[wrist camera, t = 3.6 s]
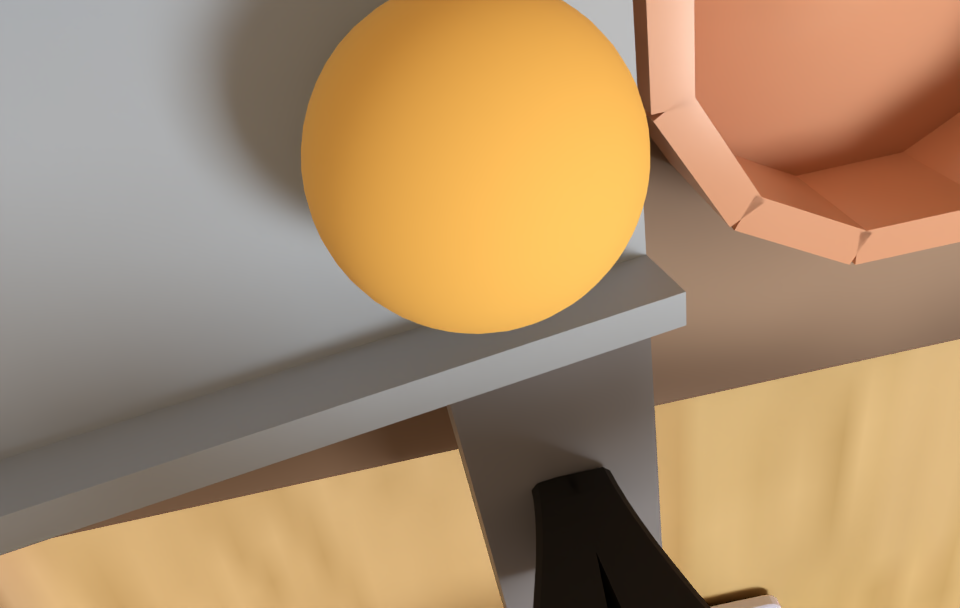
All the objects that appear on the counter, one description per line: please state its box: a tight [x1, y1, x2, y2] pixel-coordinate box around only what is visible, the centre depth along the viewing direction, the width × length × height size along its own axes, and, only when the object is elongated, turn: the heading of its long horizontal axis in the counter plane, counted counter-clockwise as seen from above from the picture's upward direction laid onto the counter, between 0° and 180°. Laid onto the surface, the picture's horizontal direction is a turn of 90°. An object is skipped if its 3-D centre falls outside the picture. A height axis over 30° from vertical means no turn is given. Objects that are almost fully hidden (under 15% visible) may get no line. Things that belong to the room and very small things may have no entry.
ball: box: [301, 0, 650, 334], centre depth 6 cm, size 3×3×3 cm
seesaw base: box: [53, 135, 960, 538], centre depth 11 cm, size 14×26×4 cm, turn 100°
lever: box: [0, 0, 686, 608], centre depth 9 cm, size 13×15×4 cm
